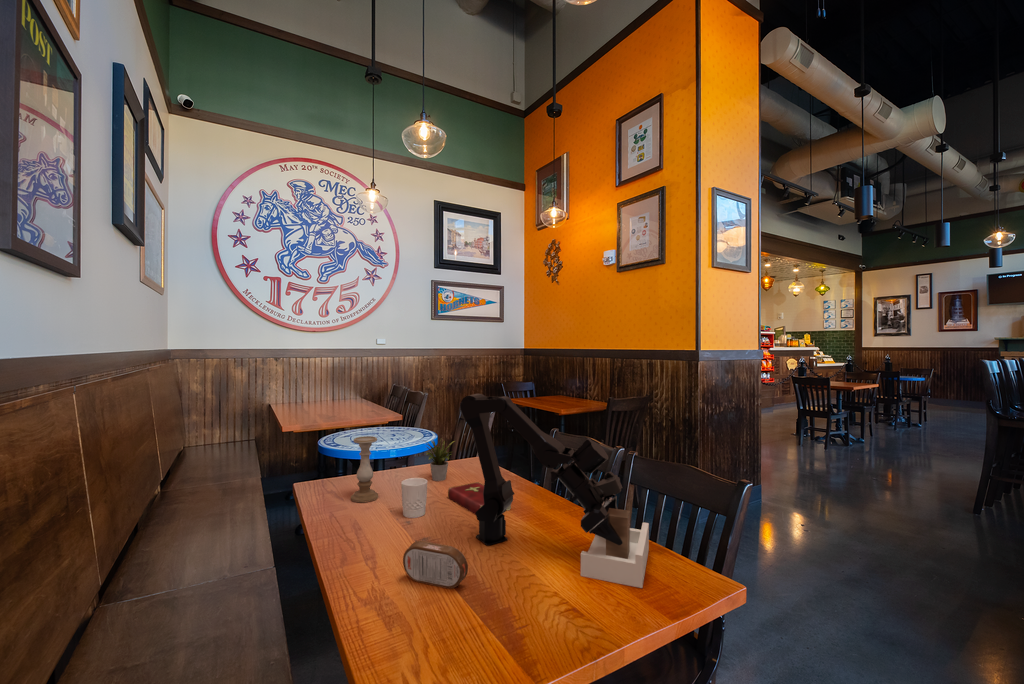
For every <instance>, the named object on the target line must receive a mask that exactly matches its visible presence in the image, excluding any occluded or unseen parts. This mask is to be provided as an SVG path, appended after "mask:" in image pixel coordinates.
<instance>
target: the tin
mask: <svg viewBox="0 0 1024 684" xmlns="http://www.w3.org/2000/svg"><path fill="white" fill-rule="evenodd" d="M402 558H403V559H402V564H403V569H404V571H405V573H406V575H407V577H409V578H410V579H411V580H413V581H414V582H418V583H421V584H426V585H430V586H431V585H432V586H434V587H440V588H445V589H454V588H456V587H457V586H459V585H460V584H461V583H462V582H463V581H464V580H465V578H466V577H467V574H468V570H469V565H468V561H467V559H466V556H465V555H464V553H463V552H462V551H461V550H459V548H456V547H455V546H451V545H448V544H447V545H446V544H441V543H436V542H435V543H434V542H431V541H427V540H416V541H415V542H413V543H411V545H410V546H409V547H408V548H407V549H406V550H405V552H404V553H403V555H402Z"/></svg>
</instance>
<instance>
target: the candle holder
mask: <svg viewBox="0 0 1024 684" xmlns="http://www.w3.org/2000/svg"><path fill="white" fill-rule="evenodd" d="M377 441H378V437H377V436H372V435H365V436H358V437H355V438H354V439H353V443H354V444H358V447H359V448H360V452H359V456H360V465H359V467H358V469H357V471H356V479H357V481H358V482H357V484H356V485H357V486H358V488H359V489H358V490H356V491H354V493H353V494H351V496H350V501H352V502H354V503H361V504H362V503H368V502H372V501H373V502H374V501H375V500H378V498H379V493H378V492H376V490H374V489H372V488H371V486H372V484H373V481H372V478H374V471H373V468H372V466H371V463H370V456H371V455H372V452H371V450H370V448H371V447H372V445H373V443H375V442H377Z"/></svg>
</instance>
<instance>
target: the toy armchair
mask: <svg viewBox="0 0 1024 684" xmlns="http://www.w3.org/2000/svg"><path fill="white" fill-rule="evenodd" d="M649 530H650V523H649V522H642V523H641V529H637V528H633V527H632V528H631V527H630V552H629V556H628V559H624V558H618V557H613V556H607V555H606V539H605V538H603V537H600V536H598V535H595V534H594V538H593V539H592V542H591V544H590V547H589V548H588V550H587V551H584V550H582V551H581V553H580V577H584V578H588V579H589V578H590V579H594V580H600V581H605V582H609V583H614V584H619V585H623V586H629V587H635V588H640V589H643V588H644V587H643V586H644V581H645V574H646V567H647V563H648V562H647V561H648V556H649V552H650V551H649V547H650V544H649V539H650V538H649V536H650V534H649V533H650V531H649Z"/></svg>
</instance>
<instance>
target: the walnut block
mask: <svg viewBox="0 0 1024 684" xmlns="http://www.w3.org/2000/svg"><path fill="white" fill-rule="evenodd" d="M608 513H609V516H610V523H611V525H612V526H613V528H614V529H615V531H616V532H617V534H618V535H619V537H620V538H621V540H622V542H623V543H622V544H621V545H620V546H619V545H617V544H615V543H613V542H611V541H609V540H607V539H606V555H607V556H613V557H618V558H624V559H628V556H629V552H630V528H631V510H627V509H619V508H618V509H613V508H609V510H608V512H607V514H608Z"/></svg>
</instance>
